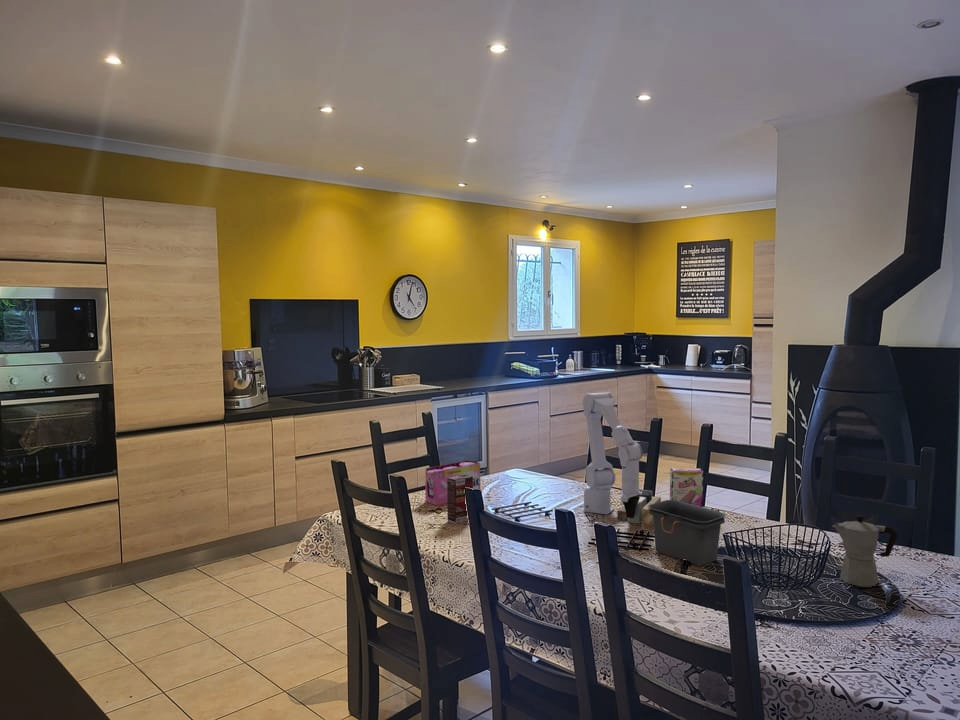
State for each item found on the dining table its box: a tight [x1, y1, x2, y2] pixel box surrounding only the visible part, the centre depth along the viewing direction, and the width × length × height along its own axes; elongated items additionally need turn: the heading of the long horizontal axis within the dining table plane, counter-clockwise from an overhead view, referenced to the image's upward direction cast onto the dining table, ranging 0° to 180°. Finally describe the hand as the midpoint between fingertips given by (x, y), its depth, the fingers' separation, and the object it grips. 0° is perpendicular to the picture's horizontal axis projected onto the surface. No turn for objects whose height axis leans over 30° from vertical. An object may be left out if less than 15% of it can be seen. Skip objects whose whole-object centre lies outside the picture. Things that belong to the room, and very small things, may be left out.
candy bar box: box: [669, 467, 704, 508], centre depth 250 cm, size 11×5×16 cm, turn 84°
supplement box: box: [446, 475, 473, 525], centre depth 246 cm, size 9×5×16 cm, turn 131°
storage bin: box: [648, 499, 727, 567], centre depth 206 cm, size 21×16×14 cm
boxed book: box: [627, 496, 647, 524], centre depth 245 cm, size 4×10×7 cm, turn 151°
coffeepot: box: [832, 514, 899, 588], centre depth 185 cm, size 15×9×18 cm, turn 68°
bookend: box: [637, 488, 653, 504], centre depth 251 cm, size 6×3×9 cm, turn 62°
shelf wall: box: [641, 496, 662, 531], centre depth 241 cm, size 2×18×7 cm, turn 152°
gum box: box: [425, 459, 481, 506], centre depth 276 cm, size 24×8×14 cm, turn 131°
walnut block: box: [616, 505, 628, 521], centre depth 247 cm, size 3×6×3 cm, turn 151°
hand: (630, 517), depth 239 cm, fingers closed
